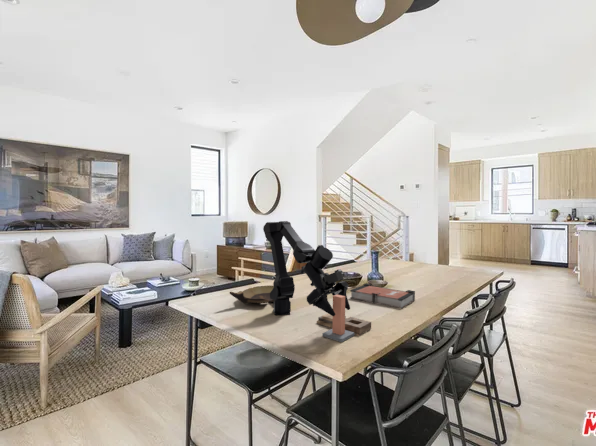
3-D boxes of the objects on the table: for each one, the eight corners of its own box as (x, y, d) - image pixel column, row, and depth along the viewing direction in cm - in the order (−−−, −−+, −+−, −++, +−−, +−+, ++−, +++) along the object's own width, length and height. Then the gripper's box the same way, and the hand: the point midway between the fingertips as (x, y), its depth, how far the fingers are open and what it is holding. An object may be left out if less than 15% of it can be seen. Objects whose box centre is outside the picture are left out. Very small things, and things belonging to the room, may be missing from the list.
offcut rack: (316, 323, 128) (316, 315, 128) (331, 317, 136) (331, 309, 135) (358, 335, 116) (358, 327, 116) (372, 328, 123) (372, 320, 123)
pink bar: (332, 332, 116) (332, 295, 115) (336, 330, 118) (337, 294, 117) (340, 335, 113) (341, 297, 113) (344, 333, 115) (345, 296, 115)
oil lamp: (296, 304, 153) (296, 288, 153) (231, 312, 142) (231, 294, 141) (280, 293, 174) (280, 278, 173) (222, 298, 162) (222, 283, 162)
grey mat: (322, 336, 115) (322, 333, 115) (335, 329, 121) (335, 327, 121) (341, 342, 110) (341, 339, 110) (354, 335, 116) (354, 332, 116)
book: (349, 299, 164) (349, 289, 164) (365, 292, 178) (365, 283, 178) (401, 309, 148) (401, 298, 148) (414, 301, 162) (414, 291, 161)
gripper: (313, 265, 110) (341, 305, 103) (344, 259, 124) (370, 293, 117) (295, 285, 116) (320, 324, 109) (327, 277, 130) (351, 311, 123)
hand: (342, 312), depth 114 cm, fingers open, 9 cm apart
